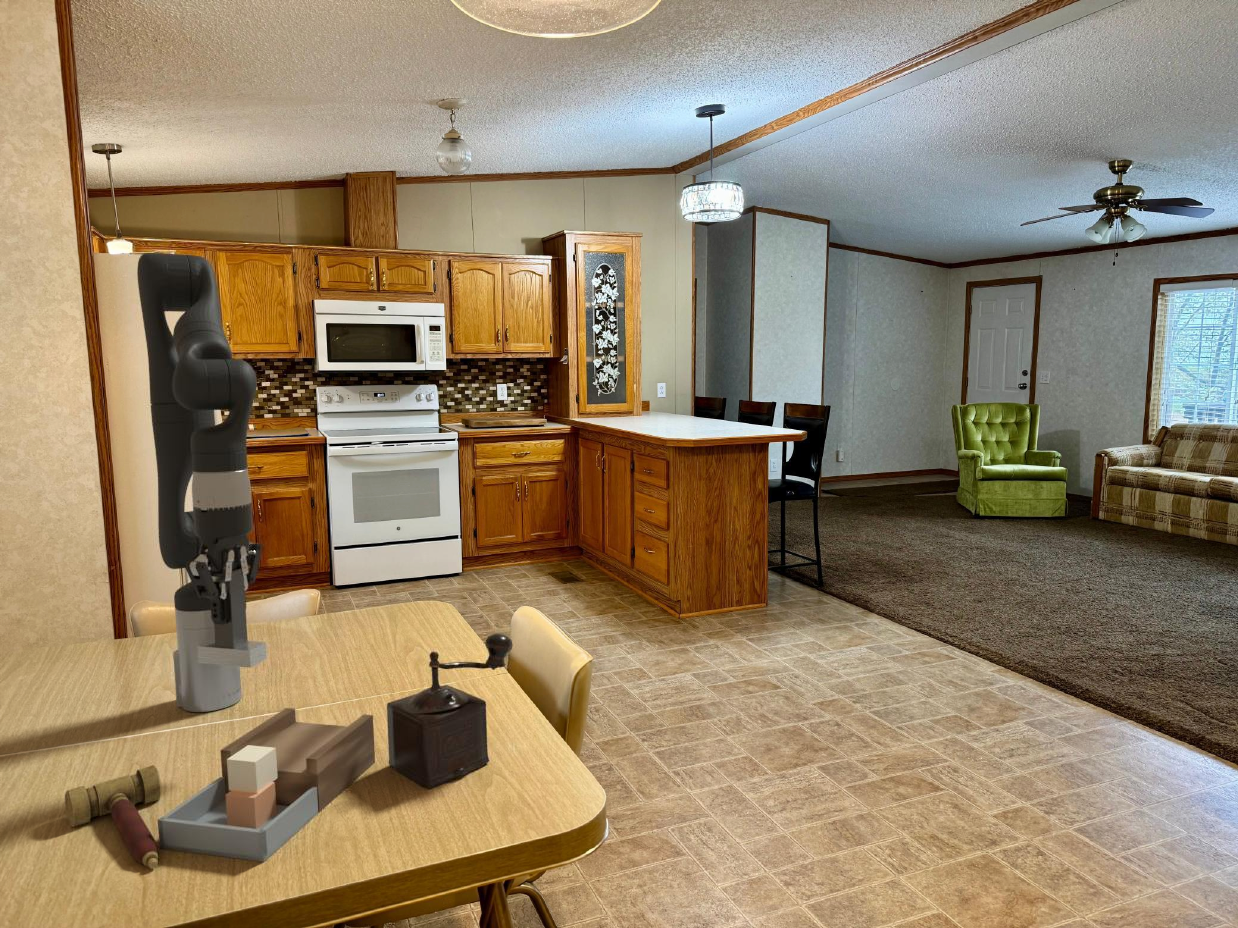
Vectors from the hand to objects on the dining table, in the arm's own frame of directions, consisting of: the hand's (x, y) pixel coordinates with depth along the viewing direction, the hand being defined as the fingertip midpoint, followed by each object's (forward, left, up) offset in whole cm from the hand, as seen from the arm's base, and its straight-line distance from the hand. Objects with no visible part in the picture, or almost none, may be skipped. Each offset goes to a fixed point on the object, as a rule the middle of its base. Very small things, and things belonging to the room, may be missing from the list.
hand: (229, 619), depth 120 cm
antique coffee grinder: (+32, +5, -21) cm, 38 cm away
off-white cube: (+14, -15, -16) cm, 26 cm away
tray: (+14, -18, -21) cm, 30 cm away
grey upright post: (0, 0, -6) cm, 6 cm away
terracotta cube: (+14, -14, -18) cm, 27 cm away
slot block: (+14, -5, -21) cm, 25 cm away
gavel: (+1, -21, -21) cm, 30 cm away
